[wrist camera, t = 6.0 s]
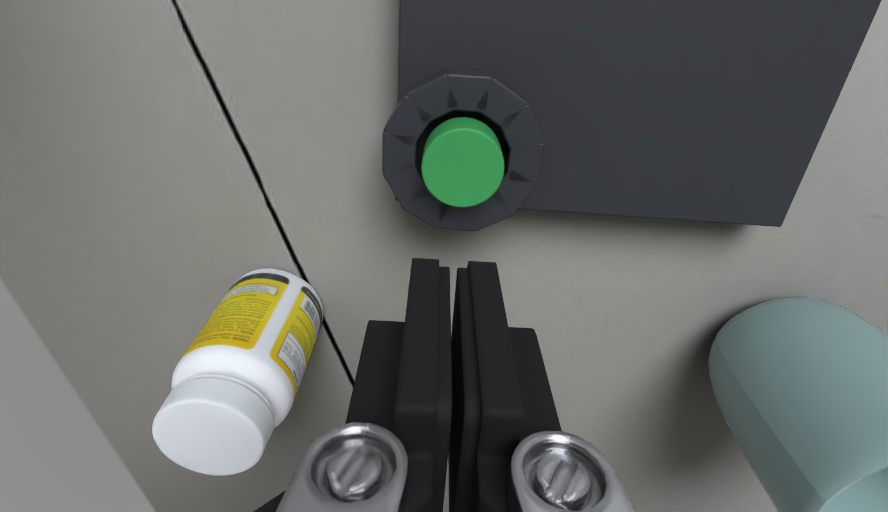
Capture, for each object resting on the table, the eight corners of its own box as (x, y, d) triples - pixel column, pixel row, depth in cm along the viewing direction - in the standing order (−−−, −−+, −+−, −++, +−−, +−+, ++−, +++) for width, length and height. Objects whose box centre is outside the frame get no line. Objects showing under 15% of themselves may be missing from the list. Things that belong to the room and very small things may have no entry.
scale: (391, 191, 22) (381, 225, 19) (398, -251, 15) (385, -310, 12) (754, 216, 22) (801, 253, 19) (926, -206, 15) (1044, -252, 12)
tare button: (421, 188, 19) (419, 205, 17) (425, 113, 17) (423, 125, 16) (495, 193, 19) (499, 210, 17) (505, 119, 17) (510, 131, 16)
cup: (666, 312, 25) (781, 491, 16) (831, 246, 23) (1063, 410, 14) (707, 410, 28) (821, 603, 20) (854, 360, 26) (1054, 549, 18)
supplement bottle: (214, 310, 25) (117, 445, 18) (259, 248, 24) (170, 369, 16) (295, 356, 27) (236, 499, 19) (343, 301, 25) (298, 435, 18)
